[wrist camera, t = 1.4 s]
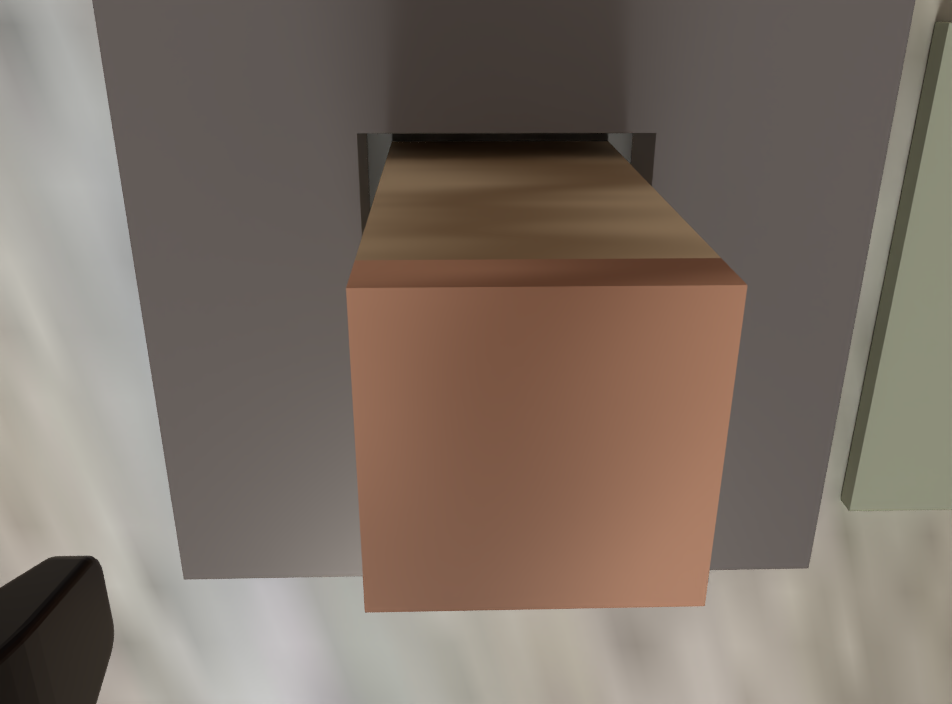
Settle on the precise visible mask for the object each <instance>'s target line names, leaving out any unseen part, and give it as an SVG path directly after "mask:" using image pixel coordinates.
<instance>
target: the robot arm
mask: <svg viewBox="0 0 952 704" xmlns="http://www.w3.org/2000/svg"><path fill="white" fill-rule="evenodd" d="M113 642H114V625H113V619H112V614H111V609H110V604H109V599H108V595H107V590H106V585H105V580H104V575H103V570H102V567H101V565H100V563H99V561H98V560H97V559H95V558H94V557H92V556H55V557H51V558H48V559H46V560H45V561H43V562H41V563H40V564H38V565H36V566H35V567H33V568H31V569H30V570H28V571H27V572H25V573H23V574H22V575H20V576H18V577H17V578H15V579H14V580H12V581H10V582H9V583H7V584H5V585H4V586H2V587H1V588H0V704H96V703H97V700H98V696H99V693H100V690H101V686H102V683H103V679H104V676H105V673H106V669H107V666H108V662H109V659H110V656H111V652H112V648H113Z"/></svg>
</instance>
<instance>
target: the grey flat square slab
mask: <svg viewBox="0 0 952 704" xmlns="http://www.w3.org/2000/svg"><path fill="white" fill-rule="evenodd" d="M92 1H93V8H94V14H95V20H96V27H97V33H98V39H99V46H100V52H101V58H102V65H103V71H104V77H105V84H106V90H107V96H108V103H109V109H110V115H111V121H112V128H113V134H114V140H115V147H116V153H117V159H118V166H119V172H120V178H121V185H122V191H123V197H124V204H125V210H126V216H127V223H128V229H129V235H130V242H131V248H132V254H133V260H134V267H135V273H136V279H137V286H138V292H139V298H140V305H141V311H142V317H143V324H144V330H145V336H146V343H147V349H148V355H149V362H150V368H151V374H152V381H153V387H154V393H155V399H156V406H157V412H158V418H159V425H160V431H161V437H162V444H163V450H164V456H165V463H166V469H167V475H168V482H169V488H170V494H171V501H172V507H173V513H174V520H175V526H176V532H177V538H178V545H179V551H180V557H181V564H182V570H183V576H184V579H232V578H288V577H344V576H363V570H362V553H361V536H360V519H359V502H358V485H357V468H356V451H355V434H354V417H353V400H352V382H351V365H350V348H349V331H348V314H347V297H346V286H347V283H348V280H349V277H350V274H351V271H352V267H353V264H354V261H355V258H356V255H357V251H358V248H359V245H360V242H361V239H362V236H363V232H364V229H365V226H366V223H367V220H368V216H369V213H370V194H369V172H368V150H367V133H633V143H632V156H631V165H632V167H633V168H634V169H635V170H636V171H637V172H638V173H639V174H640V175H641V176H642V177H643V178H644V179H645V180H646V181H647V182H648V183H649V184H650V185H651V186H652V187H653V188H654V189H655V190H656V191H657V192H658V193H659V194H660V195H661V196H662V197H663V198H664V200H665V201H666V202H667V203H668V204H669V205H670V206H671V207H672V208H673V209H674V210H675V211H676V212H677V213H678V214H679V215H680V216H681V217H682V218H683V219H684V220H685V221H686V222H687V223H688V224H689V225H690V226H691V227H692V228H693V229H694V230H695V232H696V233H697V234H698V235H699V236H700V237H701V238H702V239H703V240H704V241H705V242H706V243H707V244H708V245H709V246H710V247H711V248H712V249H713V250H714V251H715V252H716V253H717V254H718V255H719V256H720V257H721V258H722V259H723V260H724V261H725V262H726V263H727V265H728V266H729V267H730V268H731V269H732V270H733V271H734V272H735V273H736V274H737V275H738V276H739V277H740V278H741V279H742V280H743V281H744V282H745V283H746V284H747V293H746V300H745V308H744V315H743V323H742V330H741V338H740V345H739V353H738V360H737V368H736V375H735V383H734V390H733V397H732V405H731V412H730V420H729V427H728V435H727V442H726V450H725V457H724V465H723V472H722V480H721V487H720V495H719V502H718V510H717V517H716V524H715V532H714V539H713V547H712V554H711V562H710V569H709V570H737V569H794V568H808V567H809V562H810V557H811V551H812V546H813V541H814V536H815V530H816V525H817V520H818V514H819V509H820V504H821V498H822V493H823V488H824V482H825V477H826V472H827V467H828V461H829V456H830V451H831V445H832V440H833V435H834V429H835V424H836V419H837V413H838V408H839V403H840V398H841V392H842V387H843V382H844V376H845V371H846V366H847V360H848V355H849V350H850V345H851V339H852V334H853V329H854V323H855V318H856V313H857V307H858V302H859V297H860V291H861V286H862V281H863V276H864V270H865V265H866V260H867V254H868V249H869V244H870V238H871V233H872V228H873V222H874V217H875V212H876V207H877V201H878V196H879V191H880V185H881V180H882V175H883V169H884V164H885V159H886V153H887V148H888V143H889V138H890V132H891V127H892V122H893V116H894V111H895V106H896V100H897V95H898V90H899V84H900V79H901V74H902V69H903V63H904V58H905V53H906V47H907V42H908V37H909V31H910V26H911V21H912V15H913V10H914V5H915V0H92Z"/></svg>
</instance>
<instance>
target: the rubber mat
mask: <svg viewBox="0 0 952 704" xmlns="http://www.w3.org/2000/svg"><path fill="white" fill-rule="evenodd" d="M841 501H842V502H843V503H844V505H845V506H846V507H847V509H848V510H849V511H893V510H952V22H936V23H935V28H934V33H933V38H932V43H931V48H930V53H929V58H928V63H927V68H926V73H925V78H924V83H923V88H922V93H921V98H920V104H919V109H918V114H917V119H916V124H915V129H914V134H913V139H912V144H911V149H910V154H909V159H908V164H907V169H906V174H905V179H904V184H903V189H902V194H901V199H900V204H899V209H898V214H897V219H896V224H895V229H894V234H893V239H892V244H891V249H890V254H889V259H888V264H887V269H886V275H885V280H884V285H883V290H882V295H881V300H880V305H879V310H878V315H877V320H876V325H875V330H874V335H873V340H872V345H871V350H870V355H869V360H868V365H867V370H866V375H865V380H864V385H863V390H862V395H861V400H860V405H859V410H858V415H857V420H856V425H855V430H854V435H853V440H852V446H851V451H850V456H849V461H848V466H847V471H846V476H845V481H844V486H843V491H842V496H841Z"/></svg>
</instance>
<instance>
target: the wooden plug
mask: <svg viewBox="0 0 952 704" xmlns="http://www.w3.org/2000/svg"><path fill="white" fill-rule="evenodd" d="M746 293H747V284H746V283H745V282H744V281H743V280H742V279H741V278H740V277H739V276H738V275H737V274H736V273H735V272H734V271H733V270H732V269H731V268H730V267H729V266H728V265H727V263H726V262H725V261H724V260H723V259H722V258H721V257H720V256H719V255H718V254H717V253H716V252H715V251H714V250H713V249H712V248H711V247H710V246H709V245H708V244H707V243H706V242H705V241H704V240H703V239H702V238H701V237H700V236H699V235H698V234H697V233H696V232H695V230H694V229H693V228H692V227H691V226H690V225H689V224H688V223H687V222H686V221H685V220H684V219H683V218H682V217H681V216H680V215H679V214H678V213H677V212H676V211H675V210H674V209H673V208H672V207H671V206H670V205H669V204H668V203H667V202H666V201H665V200H664V198H663V197H662V196H661V195H660V194H659V193H658V192H657V191H656V190H655V189H654V188H653V187H652V186H651V185H650V184H649V183H648V182H647V181H646V180H645V179H644V178H643V177H642V176H641V175H640V174H639V173H638V172H637V171H636V170H635V169H634V168H633V167H632V165H631V164H630V163H629V162H628V161H627V160H626V159H625V158H624V157H623V156H622V155H621V154H620V153H619V152H618V151H617V150H616V149H615V148H614V147H613V146H612V145H611V144H610V143H609V142H608V141H425V142H392V143H391V147H390V150H389V153H388V156H387V159H386V162H385V166H384V169H383V172H382V175H381V178H380V181H379V185H378V188H377V191H376V194H375V197H374V201H373V204H372V207H371V210H370V213H369V216H368V220H367V223H366V226H365V229H364V232H363V236H362V239H361V242H360V245H359V248H358V251H357V255H356V258H355V261H354V264H353V267H352V271H351V274H350V277H349V280H348V283H347V286H346V297H347V314H348V331H349V348H350V365H351V382H352V400H353V417H354V434H355V451H356V468H357V485H358V502H359V519H360V536H361V553H362V570H363V587H364V604H365V612H415V611H468V610H521V609H574V608H627V607H680V606H705V599H706V592H707V584H708V577H709V569H710V562H711V554H712V547H713V539H714V532H715V524H716V517H717V510H718V502H719V495H720V487H721V480H722V472H723V465H724V457H725V450H726V442H727V435H728V427H729V420H730V412H731V405H732V397H733V390H734V383H735V375H736V368H737V360H738V353H739V345H740V338H741V330H742V323H743V315H744V308H745V300H746Z"/></svg>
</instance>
